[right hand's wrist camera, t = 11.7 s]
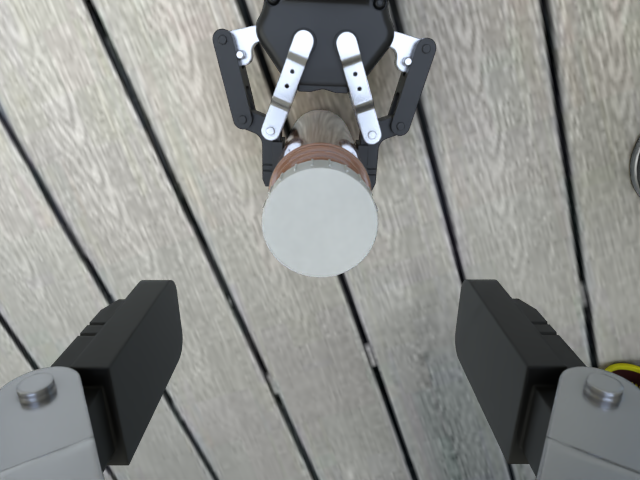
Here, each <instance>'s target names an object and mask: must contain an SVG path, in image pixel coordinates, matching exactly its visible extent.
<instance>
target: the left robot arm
mask: <svg viewBox="0 0 640 480" xmlns="http://www.w3.org/2000/svg"><path fill="white" fill-rule="evenodd" d="M388 1H389V0H264V5H263V9H262V12H261V14H260V16H259V18H258V20H257V23H256V26H251V27H246V28H242V29H237V30H233V31H228V30H225V29H219V30H217V31H216V32H215V33H214V35H213V44H214V48H215V51H216V55H217V59H218V63H219V67H220V71H221V75H222V79H223V83H224V86H225V90H226V94H227V98H228V102H229V106H230V110H231V114H232V117H233V121H234V124H235V125H236V126H237V127H238V128H240V129H246V130H249V131H251V132H253V133H256V134H257V135H258V136H259V137H260V138H261V140H262V164H263V165H262V166H263V181H264V184H265V186H269V183H270V179H271V176H272V173H273V171H274V168H275V166H276V164H277V162H278V159H279V157H280V155H281V152H282V150H283V148H284V145H285V137H282V129H283V126H284V124H285V121H286V118H287V116H288V113H289V111H290V108H291V105H292V103H293V100H294V98H295V95H296V93H297V90H298V91H303V92H312V91H316V90H320V89H325V90H329V91H332V92H335V93H348V94H349V98H350V101H351V104H352V107H353V110H354V113H355V117H356V120H357V124H358V127H359V130H360V132H359V140H356V148H357V150H358V152H359V155H360V157H361V159H362V162H363V164H364V166H365V169H366V171H367V173H368V176H369V179H370V183H371V190H372V189H373V187H374V185H375V183H376V171H377V159H378V148H379V145H380V143H381V142H382V141H383V140H385V139H387V138H390V137H393V136H396V135H398V136H402V135H404V134H406V133H407V132H408V131H409V128H410V125H411V122H412V119H413V117H414V114H415V111H416V108H417V105H418V102H419V99H420V96H421V93H422V90H423V87H424V84H425V81H426V78H427V75H428V72H429V69H430V66H431V64H432V61H433V58H434V55H435V52H436V44H435V42H434V41H433V40H432V39H430V38H422V39H418V38H415V37H412V36H409V35H405V34H402V33H399V32H396V31H394V26H393V23H392V21H391V19H390V15H389V10H388ZM259 42H260V43H261V45H262V46H263V48H264V49H265V51H266V52H267V54H268V55H269V57H270V58H271V60H272V61H273V63H274V64H275V66H276V67H277V69H278V70H279V72H280V73H281V75H280V77H279V80H278V83H277V86H276V88H275V91H274V94H273V97H272V100H271V104H270V106H269V109H268V112H267V115H266V114H264V113H261V112H259V111H256V109H255V105H254V101H253V96H252V92H251V88H250V84H249V80H248V75H247V71H246V67H245V65H248V64H250V63H251V62H252V60H253V49H254V47H255V45H256V44H257V43H259ZM388 48H391V49H392V50H393V51H394V53H395V61H394V63H395V67H396V68H397V69H398V70H399V71H402V72H401V76H400V79H399V82H398V85H397V88H396V91H395V94H394V98H393V101H392V104H391V107H390V110H389V113H388V116H385V117H381V118H378V119H377V115H376V112H375V108H374V103H373V99H372V95H371V91H370V88H369V84H368V81H367V76H368V74H369V73H370V72H371V70H372V69H373V68H374V67H375V65H376V64H377V63H378V61H379V60H380V59H381V58H382V56H383V55H384V54H385V52H386V51H387V50H388ZM630 176H631V181H632V184H633V187H634V189H635V191H636V192H637V194H638V195H639V196H640V137H639V139H638V141H637V143H636V145H635V147H634V150H633V153H632V157H631V163H630Z"/></svg>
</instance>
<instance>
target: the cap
mask: <svg viewBox="0 0 640 480" xmlns="http://www.w3.org/2000/svg"><path fill="white" fill-rule="evenodd" d="M268 194H269V195H268V198H267V200H266V201H265V203H264V206H263V208H262V210H263V214H262V231H263V235H264V239H265V242H266V244H267V246H268V248H269V250H270V251H271V253H272V254H273V255H274V257H275V258H276V259H277V260H278V261H279V262H280V263H281V264H283V265H284V266H285V267H287V268H288V269H290V270H292V271H294V272H296V273H299V274H301V275H305V276H309V277H330V276H335V275H339V274H341V273H344V272H346V271H348V270H350V269H352V268H353V267H355V266H356V265H357V264H359V263H360V262H361V261H362V260H363V259H364V258H365V257H366V255H367V254H368V253H369V251H370V250H371V248H372V246H373V244H374V242H375V239H376V235H377V230H378V215H377V211H378V209H377V207H376V204H375V202H374V201H373V198H372V192H371V190H370V187H367V185H366V184H365V182H364V181H363V180H362V178H361V176H360V174H357V173H356V172H354V171H353V170H352V169H350V168H348V167H347V165H346V164H345V165H343V164H340V163H337V162H334V161H331V159H328V160H313V159H311V161H306V162H303V163H300V164H297V163H296V164H295V166H293V167H292V168H290V169H288V170H287V171H286V172H285V173H281V175H280V177H279V178H278V179H277V181H276V182H275V184H274V185H273V186H272V185H271V187H270V190H269V192H268Z"/></svg>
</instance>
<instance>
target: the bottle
mask: <svg viewBox="0 0 640 480" xmlns="http://www.w3.org/2000/svg"><path fill="white" fill-rule="evenodd" d="M311 159H313V160H328V159H331V161H334V162H337V163H340V164H343V165H345V164H346V165H347V167H348V168H350V169H352V170H353V171H354V172H356V173H357V174H360V176H361V178H362V180H363V181H364V182H365V184H366V185H367V187H370V190H371V183H370V179H369V176H368V173H367V171H366V169H365V166H364V164H363V162H362V159H361V157H360V155H359V152H358V150H357V148H356V146H355V143H354V141H353V139H352V136H351V134H350V132H349V129H348V127H347V125H346V123H345V122H344V121H343V119H341V118H340V117H339V116H338V115H337V114H335V113H333V112H331V111H328V110H312V111H309V112H307V113H305V114H303V115H302V116H301V117H300V118H299V119H298V120H297V121H296V122H295V124H294V125H293V127H292V129H291V132H290V134H289V136H288V139H287V141H286V143H285V145H284V148H283V150H282V152H281V155H280V157H279V159H278V162H277V164H276V166H275V168H274V171H273V173H272V176H271V179H270V183H269V190H270V187H271V185H272V186H273V185H274V184H275V182H276V181H277V179H278V178H279V177H280V175H281V173H285V172H286V171H287V170H288V169H290V168H292V167H293V166H295V164H296V163H297V164H300V163H303V162H306V161H311Z"/></svg>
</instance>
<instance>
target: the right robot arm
mask: <svg viewBox="0 0 640 480" xmlns="http://www.w3.org/2000/svg"><path fill="white" fill-rule="evenodd" d="M182 340H183V338H182V328H181V320H180V312H179V304H178V297H177V290H176V285H175V283H174V281H172V280H142V281H140V282H139V283H138V284H137V286H136V287H135V288H134V289H133V290H132V292H131V293H130V294H129V295H128V296H127V298H126V299H119V300H117V301H115V302H114V303H112V304H110V305H109V306H107V307H105V308H104V309H102V310H101V311H100V312H99V313H98V314H97V315H96V316H95V317H94V318H93V320H92V321H91V322H90V325H87V326H86V327H85V329H84V330H83V331H82V332H81V333H80V336H77V338H76V339H75V340H74V341H73V342H72V343H71V344H70V345H69V347H68V348H67V349H66V350H65V351H64V352H63V353H62V354H61V356H60V357H59V358H58V359H57V360H56V361H55V362H54V363H53V365H52V366H51V367H47V368H42V369H38V370H34V371H31V372H28V373H26V374H23V375H21V376H19V377H17V378H15V379H13V380H12V381H10V382H8V383H7V384H6V385H4V386H3V387H2V388H1V389H0V480H104V476H103V472H104V470H105V468H106V466H107V465H129V464H130V462H131V460H132V458H133V455H134V453H135V451H136V449H137V447H138V445H139V443H140V441H141V439H142V437H143V434H144V432H145V430H146V428H147V426H148V424H149V422H150V420H151V418H152V415H153V413H154V411H155V409H156V407H157V405H158V403H159V401H160V399H161V397H162V394H163V392H164V390H165V388H166V386H167V384H168V382H169V380H170V378H171V376H172V373H173V371H174V369H175V367H176V365H177V363H178V361H179V359H180V355H181V351H182ZM455 345H456V352H457V356H458V359H459V361H460V363H461V365H462V367H463V369H464V372H465V374H466V376H467V378H468V380H469V382H470V384H471V386H472V389H473V391H474V393H475V395H476V397H477V399H478V401H479V404H480V406H481V408H482V410H483V412H484V414H485V416H486V418H487V421H488V423H489V425H490V427H491V429H492V431H493V433H494V435H495V438H496V440H497V442H498V444H499V446H500V448H501V450H502V453H503V455H504V457H505V459H506V461H507V463H508V464H530V466H531V468H532V470H533V472H534V474H535V476H536V480H640V389H639V388H638V387H637V386H636V385H634V384H633V383H632V382H630V381H628V380H627V379H625V378H623V377H621V376H619V375H617V374H614V373H612V372H609V371H606V370H602V369H598V368H593V367H586V365H585V364H584V363H583V362H582V361H581V360H580V359H579V357H578V356H577V355H576V354H575V353H574V352H573V351H572V350H571V348H570V347H569V346H568V345H567V344H566V343H565V342H564V340H563V339H562V338H561V337H560V336H559V335H557V334H556V331H555V330H554V329H553V328H552V327H551V326H550V325H548V324H547V321H546V320H545V319H544V318H543V317H542V315H541V314H540V313H539V312H538V311H537V310H536V309H535V308H533V307H531V306H530V305H528V304H526V303H525V302H523V301H521V300H520V299H512V298H511V297H510V296H509V294H508V293H507V292H506V291H505V289H504V288H503V287H502V286H501V285H500V283H499V282H498V281H497V280H464V282H463V284H462V287H461V293H460V301H459V309H458V317H457V325H456V333H455Z"/></svg>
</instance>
